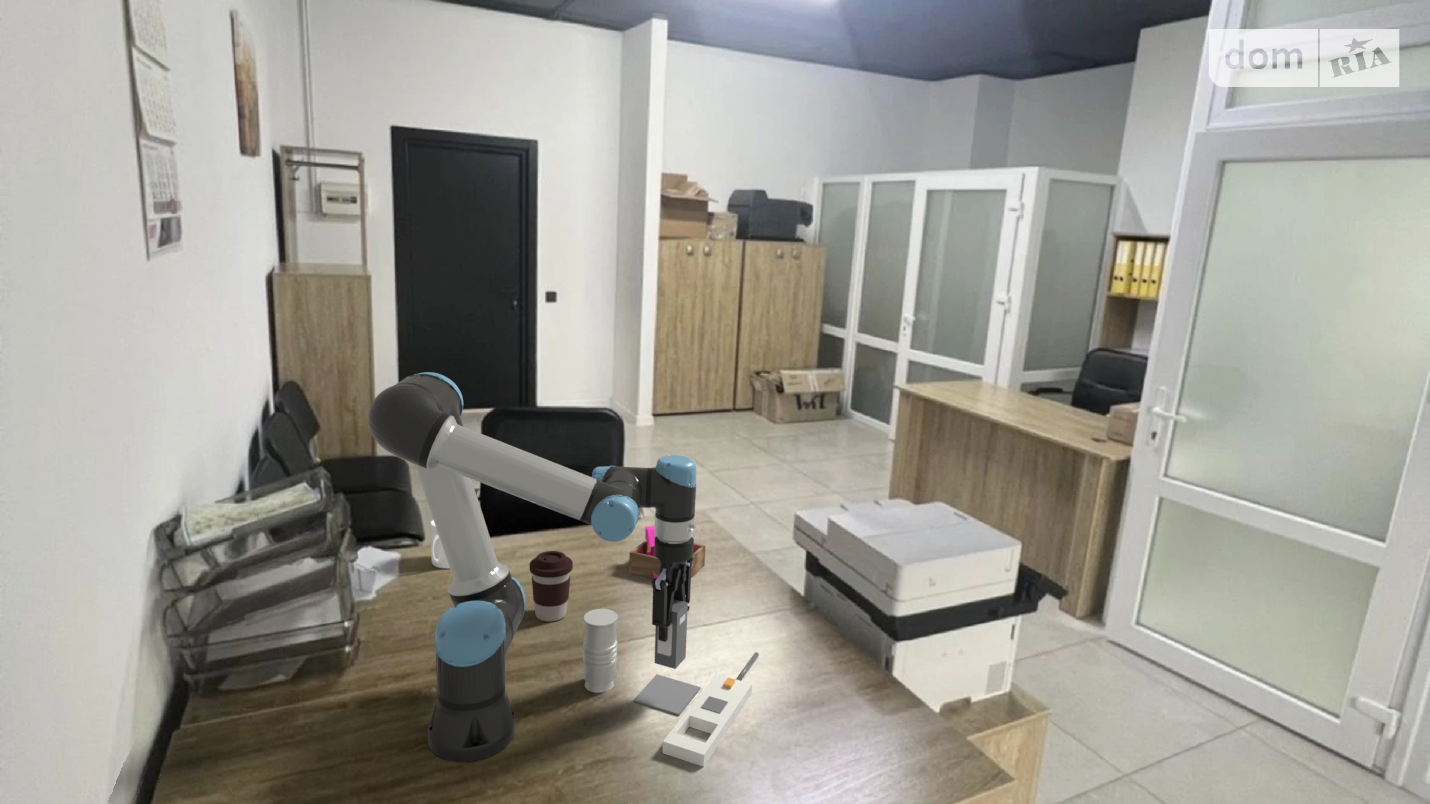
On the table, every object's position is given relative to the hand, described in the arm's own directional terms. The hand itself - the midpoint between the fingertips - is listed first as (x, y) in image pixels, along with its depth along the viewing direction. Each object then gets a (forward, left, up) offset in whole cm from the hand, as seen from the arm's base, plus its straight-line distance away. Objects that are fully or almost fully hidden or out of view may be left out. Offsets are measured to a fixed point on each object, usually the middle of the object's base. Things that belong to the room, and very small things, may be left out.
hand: (670, 646), depth 151 cm
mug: (+26, +79, -11) cm, 84 cm away
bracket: (+52, +26, -11) cm, 59 cm away
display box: (+52, +26, -11) cm, 59 cm away
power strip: (+3, -11, -11) cm, 15 cm away
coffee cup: (+16, +39, -11) cm, 44 cm away
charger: (0, 0, -3) cm, 3 cm away
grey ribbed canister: (-3, +14, -11) cm, 18 cm away
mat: (0, 0, -11) cm, 11 cm away
